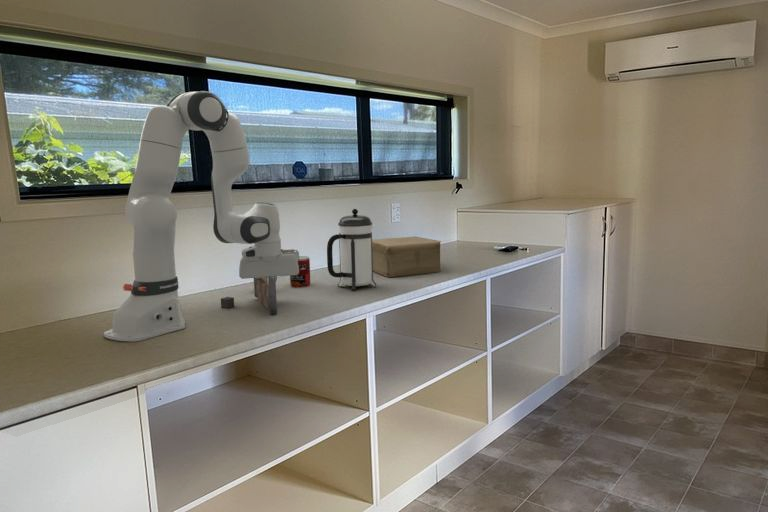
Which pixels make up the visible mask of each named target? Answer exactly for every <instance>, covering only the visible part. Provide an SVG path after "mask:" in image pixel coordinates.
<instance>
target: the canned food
mask: <svg viewBox="0 0 768 512" xmlns="http://www.w3.org/2000/svg"><path fill="white" fill-rule="evenodd" d="M310 259H311V258H310V256H306V255H302V256H301V255H299V260H298V266H299V273H298V275H291V276H289V280H290V287H292V288H305V287H306V288H307V287H309V286H310V285H311V266H310V265H311V263H310V261H311V260H310Z"/></svg>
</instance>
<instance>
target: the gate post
mask: <svg viewBox="0 0 768 512" xmlns="http://www.w3.org/2000/svg"><path fill="white" fill-rule="evenodd" d="M276 283H277V281H276V279H275V276H269V277H268V295H269V309H268V312H269V315H270V316H276V315H278V305H277V301H278V300H277V284H276Z"/></svg>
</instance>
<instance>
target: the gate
mask: <svg viewBox="0 0 768 512" xmlns="http://www.w3.org/2000/svg"><path fill="white" fill-rule="evenodd" d="M253 291H254V297H255V298H256V299H257V300H258V301H259V302H260V303H262V304H263V305H264V306H265V307H266V309H268V310H269V295H268V283H266V282H265V281H264V280H263V279H261V278H253Z"/></svg>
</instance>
